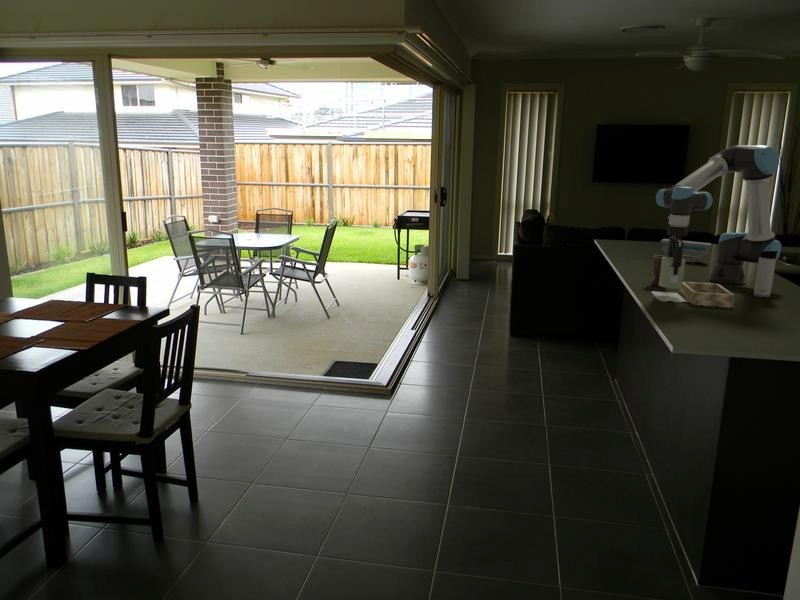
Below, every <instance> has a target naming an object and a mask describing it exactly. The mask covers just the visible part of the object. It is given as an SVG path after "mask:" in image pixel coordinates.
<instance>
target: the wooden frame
mask: <svg viewBox="0 0 800 600" xmlns="http://www.w3.org/2000/svg"><path fill="white" fill-rule="evenodd" d="M678 293H680V294H681V295H682V297H683V298H685V299H686V300H687V301H688V303H689V302H690V303H691V304H693V305H692V306H700V305H703V307H715V306H718V308H719V307H720V308H730V309H733V308H734V306H735V300H736V295H735V294H734V293H733V292H731V291H730V290H728V289H727V288H725V287H724V286H723V285H721V284H719V283H709V282H696V281H695V282H693V281H683V282H682V288H678ZM690 303H689V304H690ZM691 304H690V305H691Z"/></svg>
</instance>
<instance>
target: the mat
mask: <svg viewBox="0 0 800 600" xmlns="http://www.w3.org/2000/svg"><path fill="white" fill-rule="evenodd" d="M651 294H652V295H653V296H654V297H655V299H656V300H657V299H658V300H660V301H659V302H667V301H673V302H672V303H682V302H688V301H687V300H686V299H685V298H684V297H683V296H681V295H680V294H679V292H670V291H669V292H666V291H655V290H652V291H651ZM658 300H657V301H658ZM688 303H689V302H688Z"/></svg>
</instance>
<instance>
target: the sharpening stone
mask: <svg viewBox="0 0 800 600" xmlns="http://www.w3.org/2000/svg"><path fill="white" fill-rule="evenodd" d="M681 241H682V242H684V243H683V249H682V252H686V253H694V254H697V255H696V256H694V255H687V254H682V258H683V259H686V261H689V262H694V263H696V262H697V261H699V260H700V259H702V258H703V257H704V256H706V255H707V254H709V248H711V247H712V245H713V244H712V243H711V242H702V241H700V242H699V241H691V240H682V239H681ZM660 244H664V245H662V246H661V247H662V248H661V250H662V252H663V253H664V254H665V256H667V251H668V246H669V238H663V239H661V240H660Z"/></svg>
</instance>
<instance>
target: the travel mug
mask: <svg viewBox="0 0 800 600" xmlns="http://www.w3.org/2000/svg"><path fill="white" fill-rule="evenodd" d="M777 253H778V251H764V252H762V251H760V257H759V258H760V259H759V263H758V264H757V270H756V276H755V283H754V289H753V296H754V297H756V296H757V297H756V298H761V297H766V298H765V299H769V298H770V297H771V292H772V286H773V281H774V274H775V270H776V269H775V268H776V262H777V260H776V256H777ZM768 297H769V298H768Z"/></svg>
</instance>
